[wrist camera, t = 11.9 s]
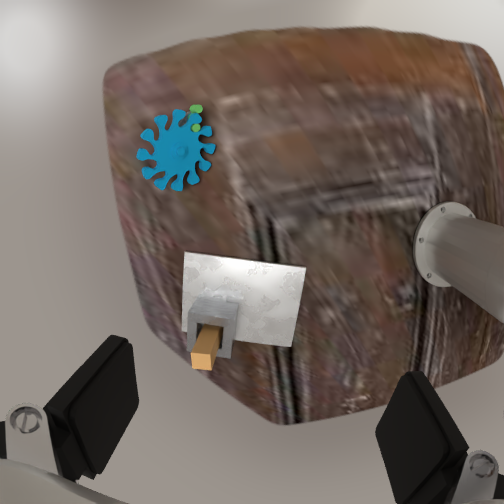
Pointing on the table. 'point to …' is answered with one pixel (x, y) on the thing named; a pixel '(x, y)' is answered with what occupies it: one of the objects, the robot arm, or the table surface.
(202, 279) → the grey square socket base
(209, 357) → the tan square peg
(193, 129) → the blue spiky virus toy
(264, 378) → the table surface
